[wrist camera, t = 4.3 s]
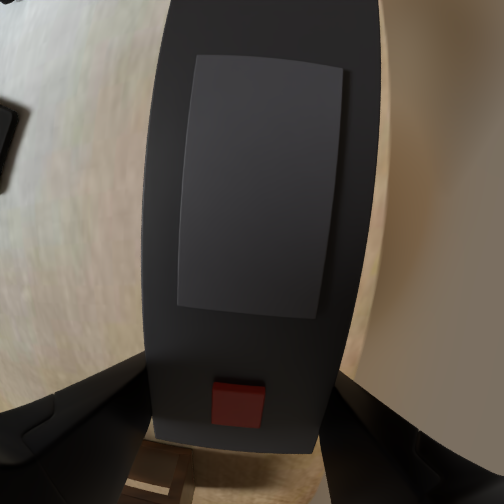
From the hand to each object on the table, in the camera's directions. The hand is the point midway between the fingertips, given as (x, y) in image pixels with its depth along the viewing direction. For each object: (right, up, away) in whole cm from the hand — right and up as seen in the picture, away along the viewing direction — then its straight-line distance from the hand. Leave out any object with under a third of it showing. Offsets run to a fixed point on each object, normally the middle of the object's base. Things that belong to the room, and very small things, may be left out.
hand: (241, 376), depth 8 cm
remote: (0, +4, 0) cm, 4 cm away
